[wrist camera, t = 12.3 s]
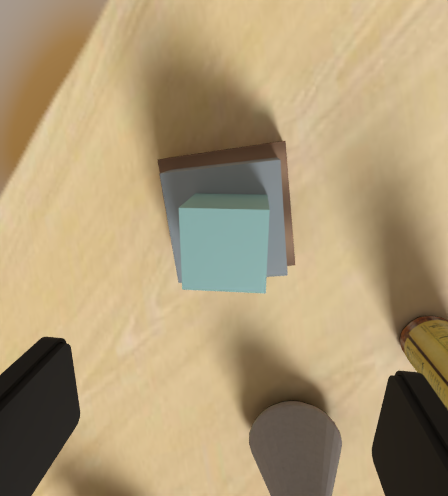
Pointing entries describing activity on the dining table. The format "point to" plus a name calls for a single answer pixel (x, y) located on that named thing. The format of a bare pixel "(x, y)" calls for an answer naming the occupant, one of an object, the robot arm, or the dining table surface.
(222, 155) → the bottom block
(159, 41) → the dining table surface
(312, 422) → the coffee pot
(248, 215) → the teal cube
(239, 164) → the top block
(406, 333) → the sauce bottle
